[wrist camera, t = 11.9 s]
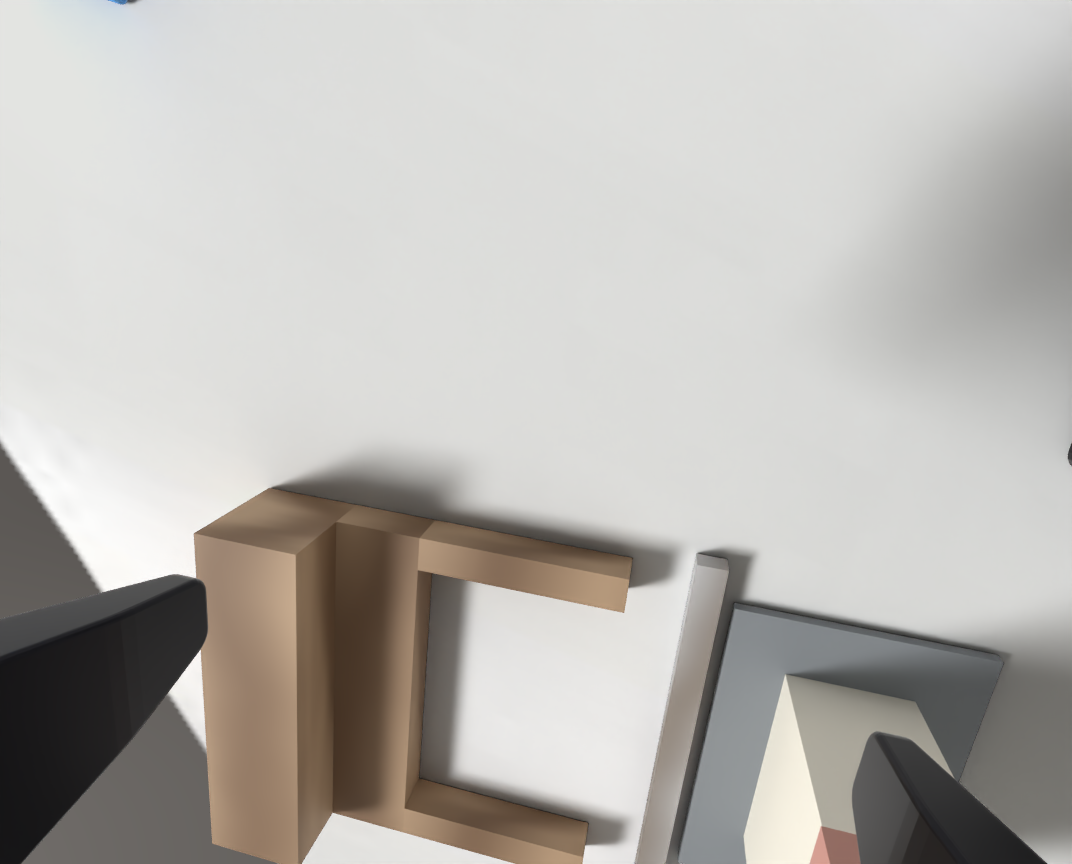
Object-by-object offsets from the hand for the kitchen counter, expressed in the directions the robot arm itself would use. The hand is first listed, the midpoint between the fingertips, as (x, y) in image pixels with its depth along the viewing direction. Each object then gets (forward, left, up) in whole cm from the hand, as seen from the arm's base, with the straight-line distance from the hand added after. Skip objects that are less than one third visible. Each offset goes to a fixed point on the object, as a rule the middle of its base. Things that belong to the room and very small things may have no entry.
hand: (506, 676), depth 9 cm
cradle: (+4, +11, -13) cm, 17 cm away
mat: (-9, +11, -13) cm, 19 cm away
